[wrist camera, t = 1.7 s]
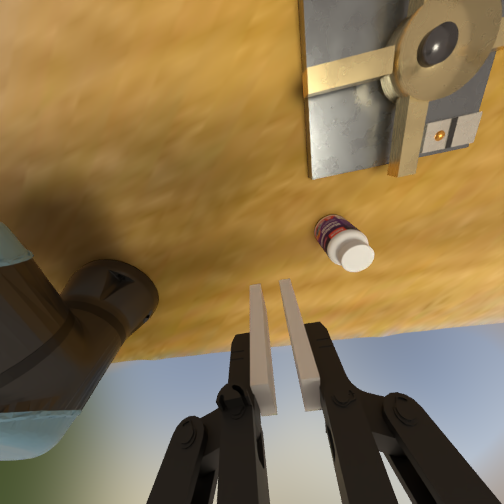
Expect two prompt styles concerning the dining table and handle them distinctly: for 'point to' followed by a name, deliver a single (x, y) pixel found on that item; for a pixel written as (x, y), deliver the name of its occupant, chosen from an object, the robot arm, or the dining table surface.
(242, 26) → the dining table surface
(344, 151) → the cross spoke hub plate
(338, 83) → the four spoke knob plate
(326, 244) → the pill bottle
